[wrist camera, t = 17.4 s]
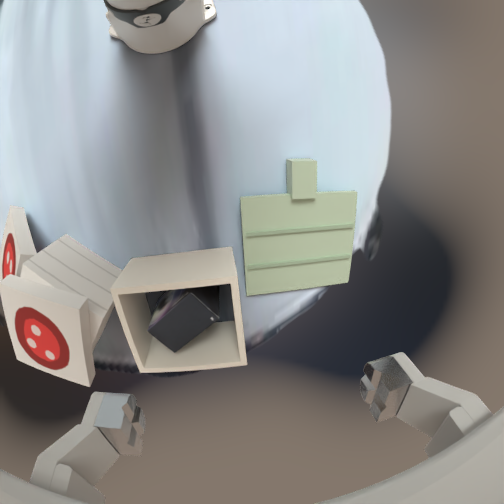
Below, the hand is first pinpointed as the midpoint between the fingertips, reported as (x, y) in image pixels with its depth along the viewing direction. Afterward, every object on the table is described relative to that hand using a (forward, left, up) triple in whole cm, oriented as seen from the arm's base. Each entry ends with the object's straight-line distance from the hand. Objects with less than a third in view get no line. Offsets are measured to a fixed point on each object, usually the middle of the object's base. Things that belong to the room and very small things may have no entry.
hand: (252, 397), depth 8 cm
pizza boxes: (+9, -33, -39) cm, 52 cm away
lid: (+6, +13, -40) cm, 42 cm away
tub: (+16, -8, -39) cm, 43 cm away
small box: (+16, -8, -39) cm, 43 cm away
